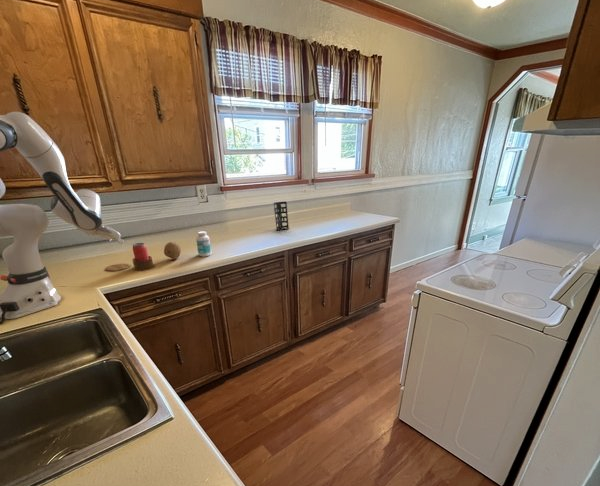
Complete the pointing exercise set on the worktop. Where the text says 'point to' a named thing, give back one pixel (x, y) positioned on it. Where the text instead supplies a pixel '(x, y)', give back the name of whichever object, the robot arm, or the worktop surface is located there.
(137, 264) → the cup
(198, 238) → the pill bottle
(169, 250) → the natural sponge
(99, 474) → the worktop surface
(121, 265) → the coaster
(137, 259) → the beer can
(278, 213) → the holder
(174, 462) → the worktop surface
